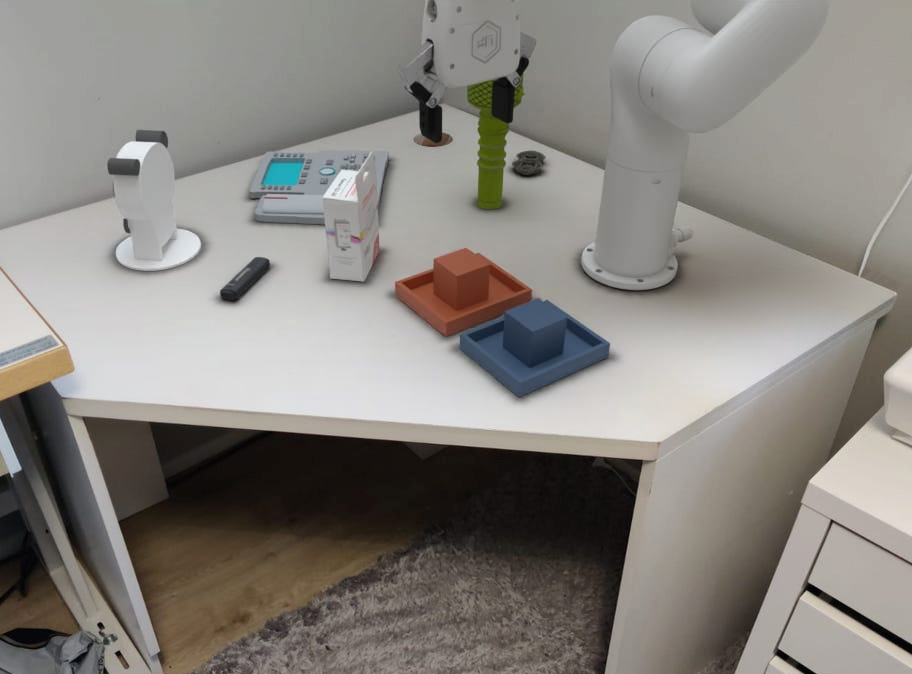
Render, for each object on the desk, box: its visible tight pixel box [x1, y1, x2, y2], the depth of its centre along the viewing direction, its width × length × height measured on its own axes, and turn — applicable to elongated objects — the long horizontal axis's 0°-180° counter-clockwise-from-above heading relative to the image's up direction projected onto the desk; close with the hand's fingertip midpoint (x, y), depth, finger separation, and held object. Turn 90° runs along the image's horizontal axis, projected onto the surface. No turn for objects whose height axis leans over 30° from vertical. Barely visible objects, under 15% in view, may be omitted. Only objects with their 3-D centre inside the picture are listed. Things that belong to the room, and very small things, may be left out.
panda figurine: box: [106, 129, 202, 272], centre depth 118 cm, size 12×11×15 cm
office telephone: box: [249, 149, 390, 225], centre depth 136 cm, size 23×3×20 cm
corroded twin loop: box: [511, 150, 546, 176], centre depth 143 cm, size 5×8×1 cm, turn 166°
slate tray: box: [459, 299, 611, 398], centre depth 103 cm, size 13×11×2 cm
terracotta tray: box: [394, 252, 533, 337], centre depth 112 cm, size 13×11×2 cm
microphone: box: [466, 73, 526, 210], centre depth 125 cm, size 8×8×25 cm
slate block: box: [503, 297, 567, 368], centre depth 101 cm, size 5×5×5 cm
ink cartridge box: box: [322, 152, 381, 282], centre depth 114 cm, size 9×5×15 cm, turn 168°
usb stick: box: [219, 256, 271, 301], centre depth 115 cm, size 10×3×2 cm, turn 159°
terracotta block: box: [433, 247, 490, 311], centre depth 110 cm, size 5×5×5 cm
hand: (467, 128), depth 99 cm, fingers open, 9 cm apart
